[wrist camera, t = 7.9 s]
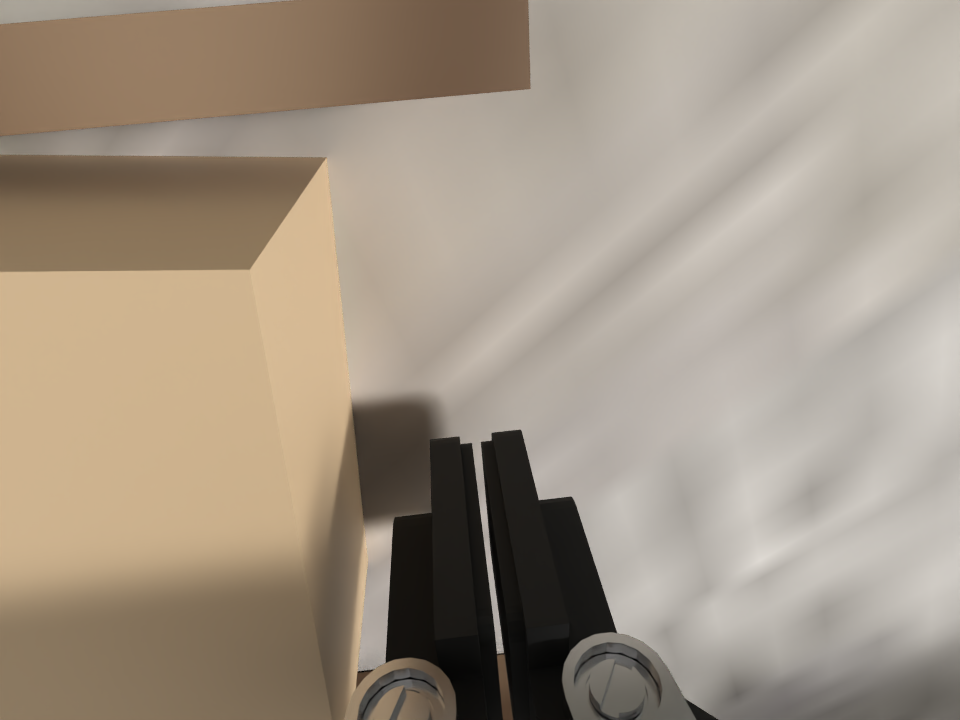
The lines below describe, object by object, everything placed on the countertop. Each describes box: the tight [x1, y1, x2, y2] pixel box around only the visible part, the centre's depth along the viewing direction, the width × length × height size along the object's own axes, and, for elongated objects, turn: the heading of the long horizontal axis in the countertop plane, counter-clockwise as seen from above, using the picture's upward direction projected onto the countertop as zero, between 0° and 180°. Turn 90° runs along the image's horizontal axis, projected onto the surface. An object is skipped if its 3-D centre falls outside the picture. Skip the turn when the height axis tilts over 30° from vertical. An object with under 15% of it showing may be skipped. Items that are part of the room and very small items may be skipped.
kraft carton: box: [0, 155, 368, 720], centre depth 9 cm, size 10×9×5 cm
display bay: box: [0, 0, 530, 720], centre depth 9 cm, size 16×18×6 cm
